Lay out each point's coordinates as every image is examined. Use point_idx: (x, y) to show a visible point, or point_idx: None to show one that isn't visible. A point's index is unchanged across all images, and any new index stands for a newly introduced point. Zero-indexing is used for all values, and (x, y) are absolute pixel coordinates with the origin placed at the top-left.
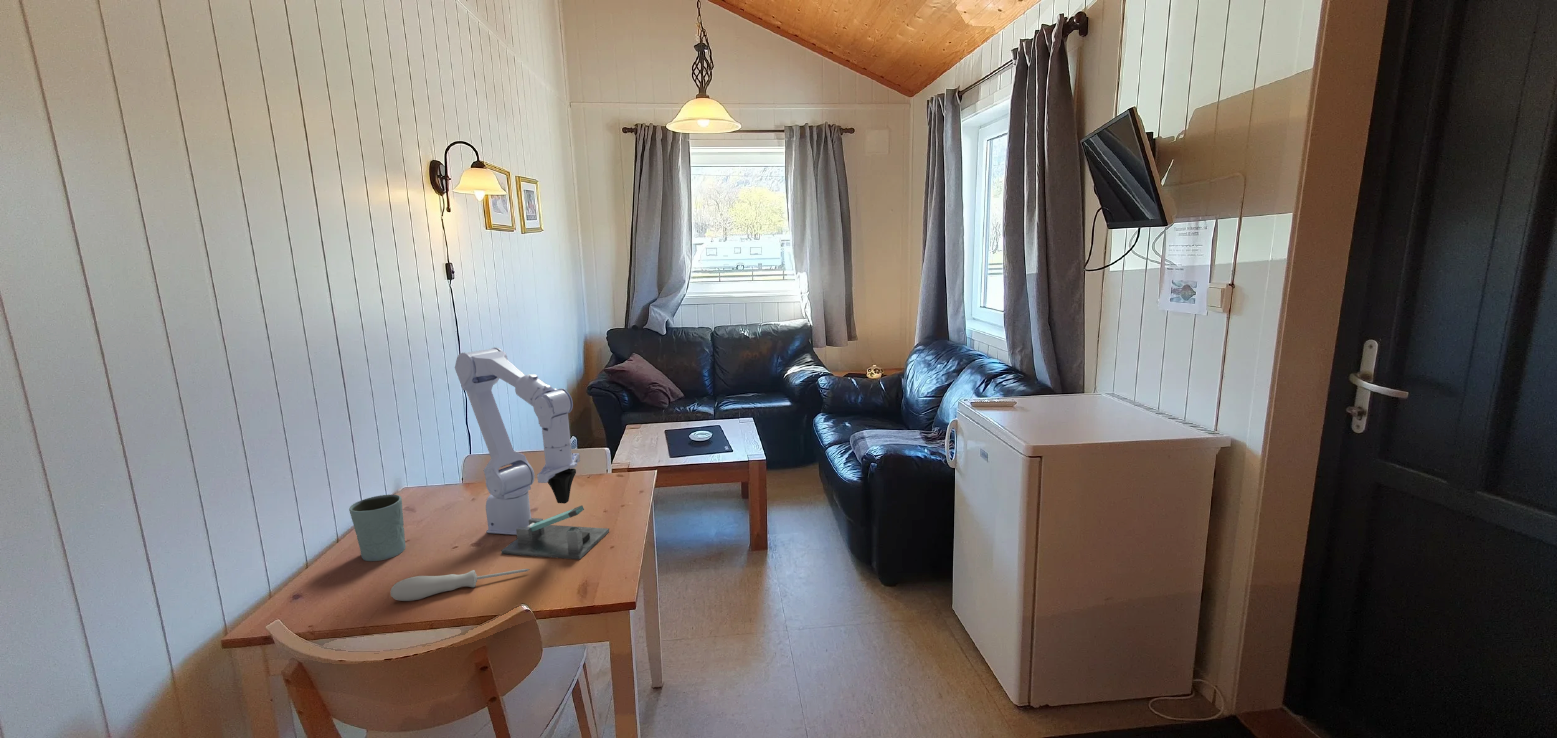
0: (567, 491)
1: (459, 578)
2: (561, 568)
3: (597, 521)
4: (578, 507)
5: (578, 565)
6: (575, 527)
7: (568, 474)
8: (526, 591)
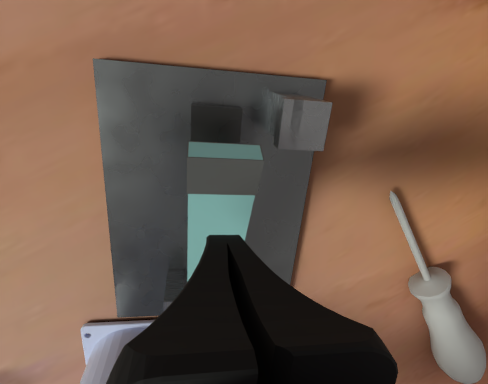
0: (243, 264)
1: (451, 303)
2: (371, 113)
3: (17, 149)
4: (213, 165)
5: (359, 66)
6: (282, 131)
7: (294, 373)
8: (475, 147)
